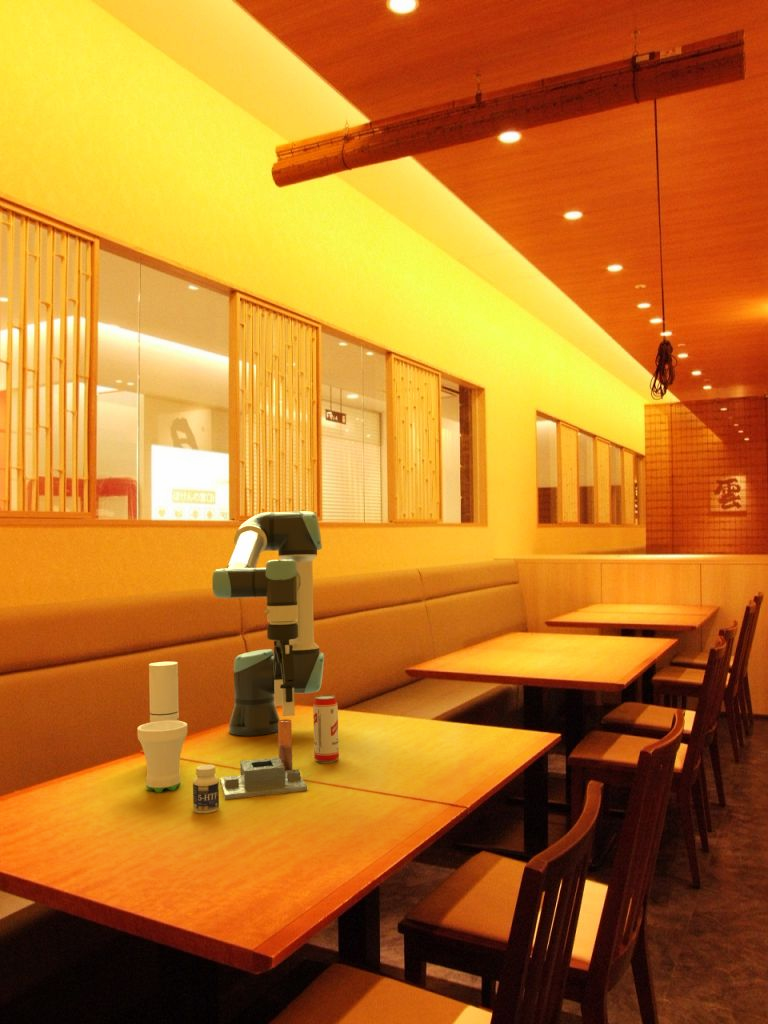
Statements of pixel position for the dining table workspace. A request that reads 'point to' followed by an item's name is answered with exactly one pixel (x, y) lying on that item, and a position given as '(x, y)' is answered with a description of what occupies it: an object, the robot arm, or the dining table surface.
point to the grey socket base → (262, 779)
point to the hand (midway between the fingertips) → (284, 710)
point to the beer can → (326, 729)
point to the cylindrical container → (163, 691)
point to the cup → (162, 753)
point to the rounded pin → (285, 743)
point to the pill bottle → (205, 790)
